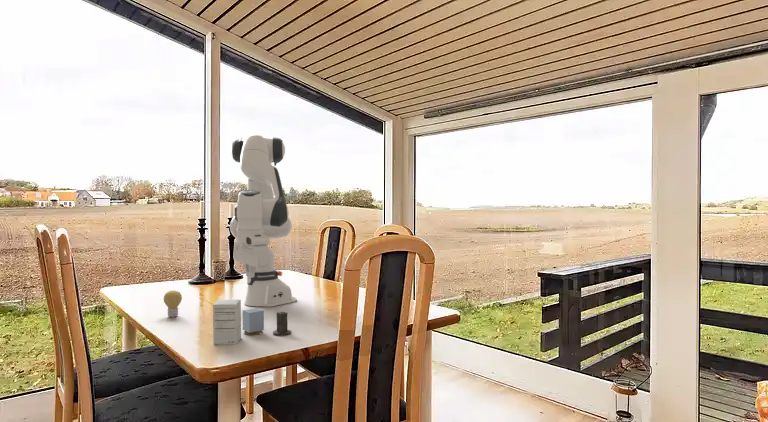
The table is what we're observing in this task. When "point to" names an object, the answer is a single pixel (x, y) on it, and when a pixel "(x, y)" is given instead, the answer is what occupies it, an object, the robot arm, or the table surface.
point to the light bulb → (172, 302)
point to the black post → (282, 325)
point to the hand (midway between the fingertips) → (250, 276)
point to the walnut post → (253, 333)
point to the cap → (253, 320)
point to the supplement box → (226, 322)
